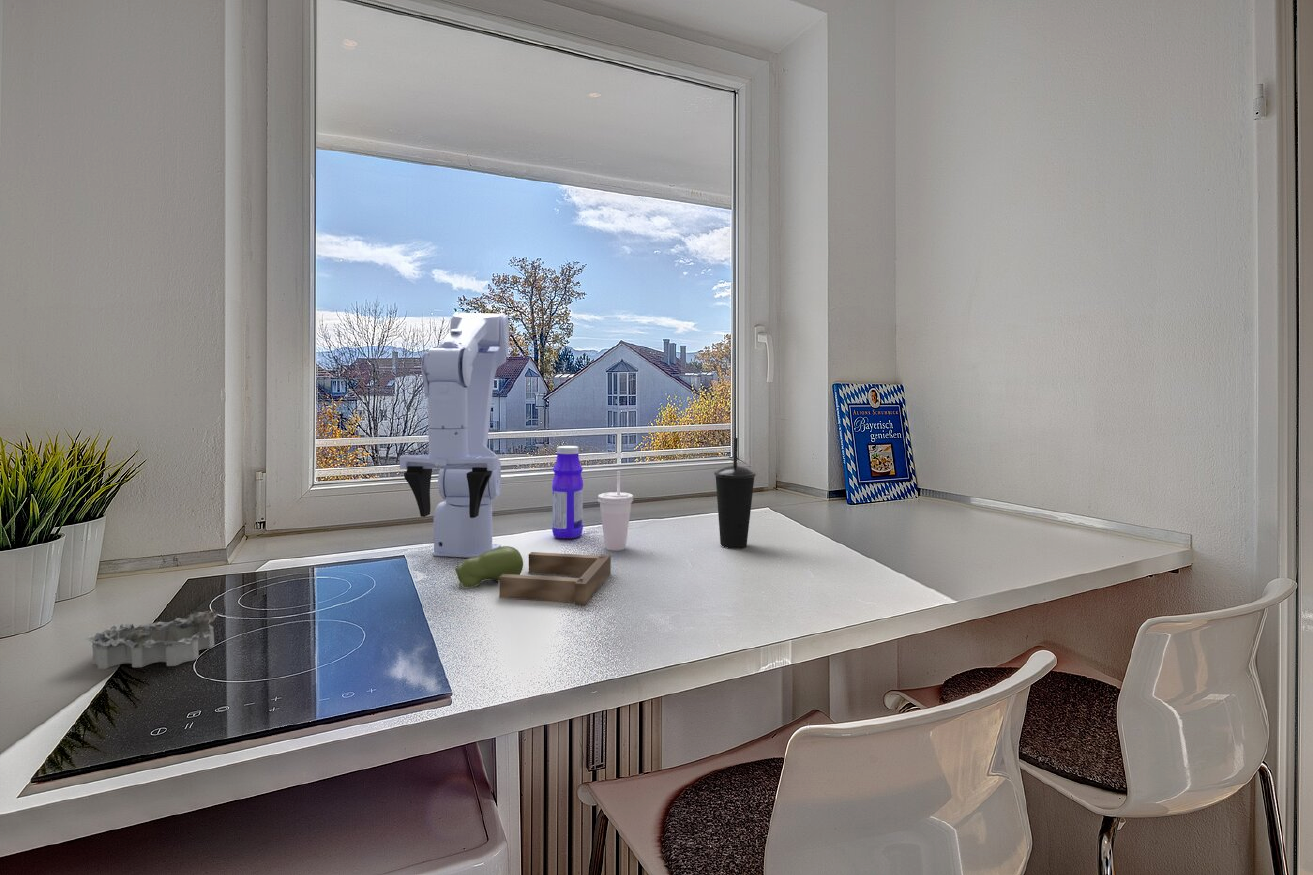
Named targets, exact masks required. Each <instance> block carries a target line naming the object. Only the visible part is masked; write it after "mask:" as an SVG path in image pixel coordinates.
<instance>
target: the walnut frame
mask: <svg viewBox="0 0 1313 875" xmlns="http://www.w3.org/2000/svg"><path fill="white" fill-rule="evenodd" d="M527 556H528V557H527V558H528V574H520V575H515V574H502V575H501V576H499V581H498V598H501V599H512V600H513V599H515V600H529V601H530V600H532V601H544V602H545V601H546V602H557V603H558V602H560V603H573V604H574V605H575V606H576V605H577V606H586V605H588V603H589V602H590V601H591V599H592V598H593V597H594V596H595V594H596V592H597V591H598V590H599V589H600V588H601V586H602V585H603V584H604V583H605V581H606V580H607V579H608V578H609V576H610V575H611V574H612V573H611V571H612V569H611V568H612V562H611V558H612V557H611V556H612V555H611V554H600V555H595V554H594V555H593V554H591V555H590V554H577V553H576V554H575V553H574V554H573V553H559V552H558V553H556V552H541V551H538V552H537V551H531V552H530V553H528V555H527ZM529 574H536V575H529ZM537 574H539V575H537ZM541 574H543V575H541ZM554 574H556V576H548V575H554ZM546 575H547V576H546ZM560 576H561V577H560ZM563 576H574V577H563ZM575 576H576V577H575Z"/></svg>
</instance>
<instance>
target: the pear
mask: <svg viewBox="0 0 1313 875" xmlns="http://www.w3.org/2000/svg"><path fill="white" fill-rule="evenodd" d="M523 568H524V560H523V556H522V554H521V552H520V551H519V550H518V549H517V548H515V547H513V546H509V545H504V546H502V545H501V547H498V548H494V549H491V550H488V551H486V552H484V553H482V554H481V555H479V556H477V557H474V558H467V559H465V560H464V561H462V562H461V564H460V565H457V566H456V568H455V567H454V571H455V573H456V576H457V579H458V581H459V583H461V585H462V588H468V589H469V588H474V587H476V586H478V585H479V584H481V583H482V582H484V581H485V580H491V581H492V580H493V581H498V582H499V576H501V575H502V574H515V575H521V574H522V571H523Z"/></svg>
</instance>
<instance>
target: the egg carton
mask: <svg viewBox="0 0 1313 875" xmlns="http://www.w3.org/2000/svg"><path fill="white" fill-rule="evenodd" d="M188 616H189V617H187V618H182V617H177V618H175V619H174V620H171V621H158V622H157V621H155V622H152V623H146V624H141V625H138V626H136V627H135V626H134V623H132V624H129V623H126V624H124V623H121V624H120V626H119V628H118V629H117V627H116V626H115V625H113V626H112V627H110V628H109V630H108V629H106V630H103V632H100V633H99V632H96V633H95V635H94V636H91V637H85V638H84V639H85V640H87V641H89V642H91V643H92V644H91V648H92V658H93V663H92V664H93V665H96V666H97V669H99V670H100V669H103V670H104V669H109V668H111V667H115V666H118V665H123V664H131V667H132V668H143V667H145V666H148V665H151V664H155V663H166V667H176V666H179V665H181V664H183V663H186V662H192V661H195V660H197V659H198V658H199V657H200V655H199V654H200V652H199V651H202V650H205V649H206V650H207V649H211V648H213V647H214V646H215V632H214V627H213V625H212V624H211V623H213V622H214V621H215V620H216V618H217V617H218V612H217V610H212V611H211V610H205V611H203V612H202V611H197V612H194V613H190V615H188Z"/></svg>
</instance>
